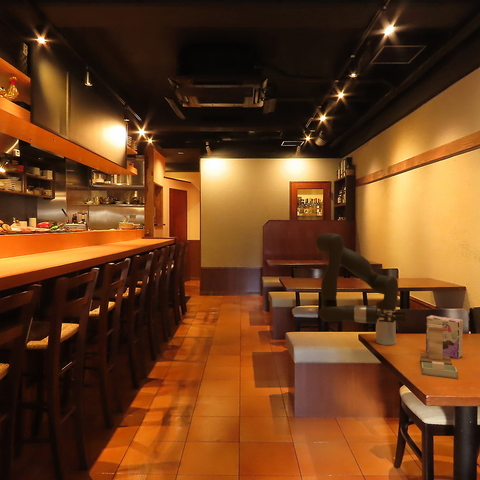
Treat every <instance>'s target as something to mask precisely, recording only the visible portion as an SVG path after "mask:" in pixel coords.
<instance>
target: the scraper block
mask: <svg viewBox="0 0 480 480" xmlns="http://www.w3.org/2000/svg"><path fill="white" fill-rule="evenodd" d="M427 354H428V356H429V358H431V359H440V360H443V327H442V325H433V324H429V327H428V353H427Z"/></svg>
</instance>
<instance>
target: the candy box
mask: <svg viewBox="0 0 480 480" xmlns="http://www.w3.org/2000/svg"><path fill="white" fill-rule="evenodd" d="M463 322H464V321H463V319H457V318H451V317H444V316H437V315H429V316H426V327H425V328H426V330H425V333H426V334H425V353H426V354H428V327H429V324H433V325H442V327H443V356H450V359H451V358H453V359H455V360H459V359H461V358H462V357H463V337H464V336H463V331H464V329H463V326H464V325H463V324H464V323H463Z"/></svg>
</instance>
